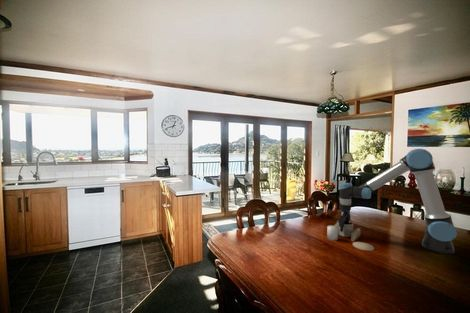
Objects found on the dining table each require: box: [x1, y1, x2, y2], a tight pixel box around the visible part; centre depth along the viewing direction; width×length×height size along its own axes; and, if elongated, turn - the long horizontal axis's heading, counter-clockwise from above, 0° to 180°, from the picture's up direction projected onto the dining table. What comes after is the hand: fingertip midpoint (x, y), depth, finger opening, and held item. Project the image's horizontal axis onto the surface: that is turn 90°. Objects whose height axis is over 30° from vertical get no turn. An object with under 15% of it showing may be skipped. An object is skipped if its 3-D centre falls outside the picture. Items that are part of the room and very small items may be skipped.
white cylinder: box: [326, 225, 339, 241], centre depth 150 cm, size 7×7×8 cm
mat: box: [352, 241, 375, 252], centre depth 137 cm, size 12×12×1 cm
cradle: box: [332, 223, 361, 242], centre depth 156 cm, size 16×14×5 cm
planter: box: [336, 219, 354, 239], centre depth 156 cm, size 11×11×10 cm
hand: (344, 233), depth 156 cm, fingers closed on planter, 11 cm apart
